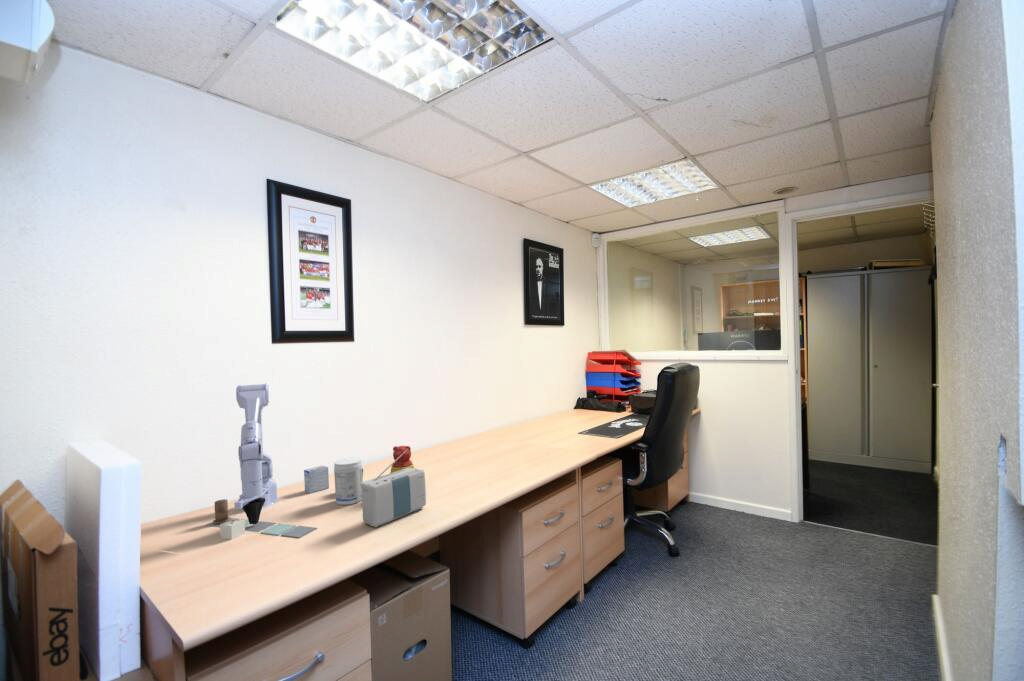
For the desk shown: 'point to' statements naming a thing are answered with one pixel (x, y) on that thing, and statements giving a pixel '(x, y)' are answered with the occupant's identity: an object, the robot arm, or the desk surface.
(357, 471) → the supplement tub
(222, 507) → the pawn
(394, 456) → the stacking bear
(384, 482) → the stereo radio cassette player
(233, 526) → the die
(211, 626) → the desk surface
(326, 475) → the medicine box
